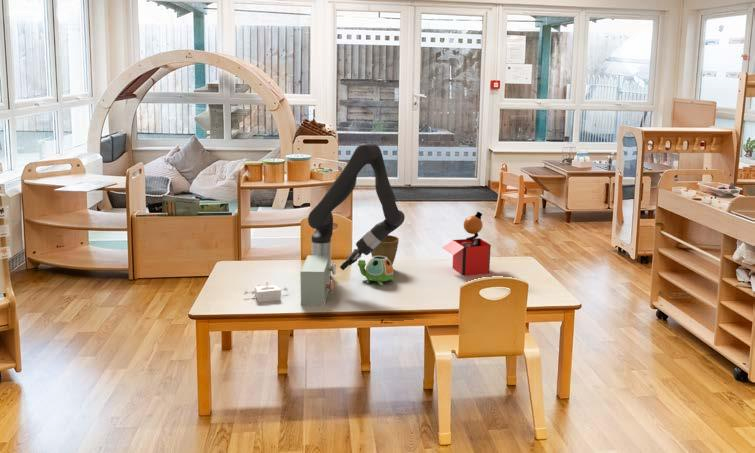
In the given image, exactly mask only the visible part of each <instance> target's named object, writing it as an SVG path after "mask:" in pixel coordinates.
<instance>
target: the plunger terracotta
mask: <svg viewBox="0 0 755 453" xmlns="http://www.w3.org/2000/svg"><path fill="white" fill-rule="evenodd" d="M334 281H335V280H334V279H330V283H325V289H329V293H332V294H333V293H334V292H335V291H334V290H335V288H334V287H335V285H334V284H335V283H334Z"/></svg>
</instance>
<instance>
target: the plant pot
mask: <svg viewBox="0 0 755 453" xmlns="http://www.w3.org/2000/svg"><path fill="white" fill-rule="evenodd" d="M399 239H400V238H399V237H398V236H396V235H390V234H388V235H387V236H386V237H385V238H384V239H383V240H382V241H381V242H380V244H379V245H378V246H377V247H376V248H375V249H374V250H373V251H372V252H371V253H370V254H371V258H372V257H374V256H384V257H387V258H388V259H389V261H390V262H391V264H392V266H393V264H394V262H395V259H396V255H397V252H398V248H399V247H398V246H399V241H400V240H399Z"/></svg>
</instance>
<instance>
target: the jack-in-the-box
mask: <svg viewBox="0 0 755 453" xmlns="http://www.w3.org/2000/svg"><path fill="white" fill-rule="evenodd" d="M482 216H483V213H481V212H480V211H477V212H476V214H474V215H470V216H468V217H467V218H465V220H463V228H464V231H465V232H466V233H468V234H470V235H472V236H469V237H466V238H464V239H452V240H451V241H450V242H448V243H447V244H445V245H444V246H442V249H443V250H445V251H446V252H448V253H449V254H451V255H452V270H454V271H456V272H457V273H458V274H459V275H460V276H465V277H466V276H479V274H481V275H489V274H490V266H491V265H490V262H491V247H493V245H491V244H490V243H488V242H487V241H485V240H483V239H482V238H479V233H480V232H481V230H483V225H484V224H483V221H482V220H481V219H482Z"/></svg>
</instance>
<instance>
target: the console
mask: <svg viewBox="0 0 755 453" xmlns="http://www.w3.org/2000/svg"><path fill="white" fill-rule="evenodd" d="M328 266H330V256H321V255H312V254H310V255H309V254H308V255H307V256H306V258H305V261H304V263H303V265H302V268H301V270H300V305H301V306H325V303H326V301H327V298H328V294H329V292H330V289H325V283H330V280H331V276H330V271H328Z"/></svg>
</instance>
